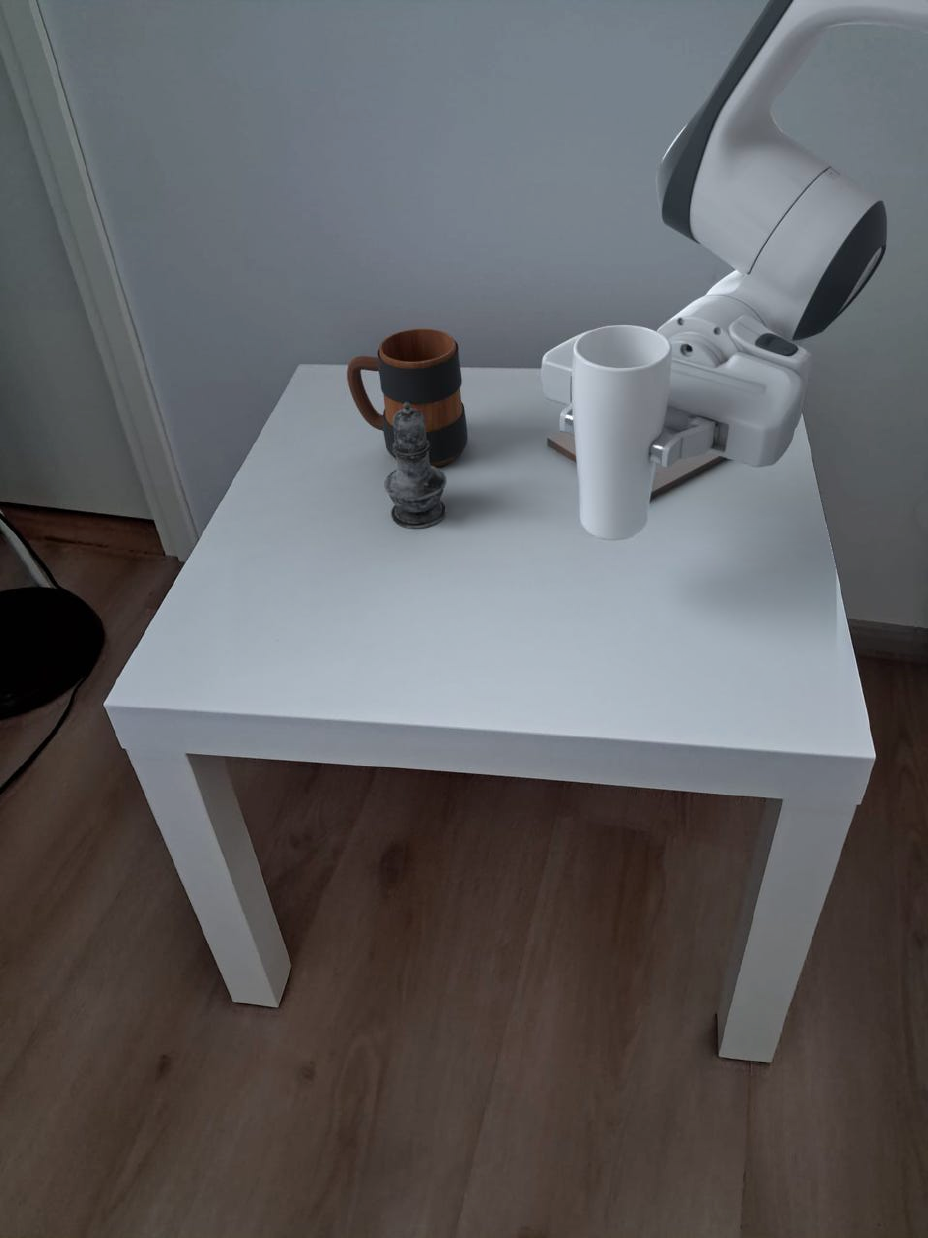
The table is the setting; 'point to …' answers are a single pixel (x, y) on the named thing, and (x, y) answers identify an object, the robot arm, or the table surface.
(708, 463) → the walnut board
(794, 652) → the table surface
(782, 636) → the table surface
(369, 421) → the mug
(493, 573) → the table surface
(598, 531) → the drinking glass
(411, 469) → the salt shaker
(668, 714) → the table surface
